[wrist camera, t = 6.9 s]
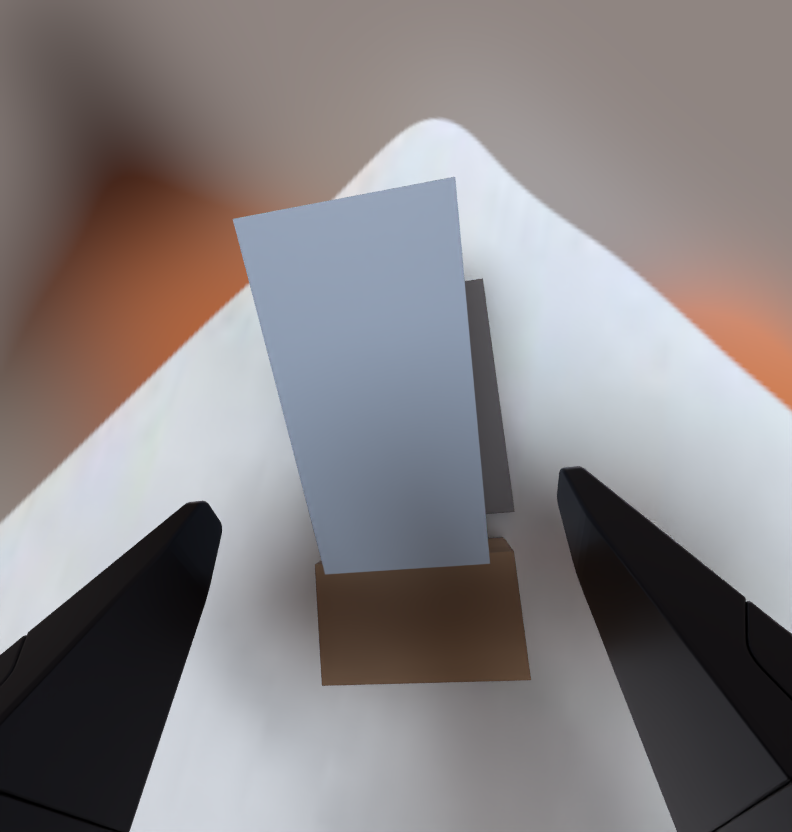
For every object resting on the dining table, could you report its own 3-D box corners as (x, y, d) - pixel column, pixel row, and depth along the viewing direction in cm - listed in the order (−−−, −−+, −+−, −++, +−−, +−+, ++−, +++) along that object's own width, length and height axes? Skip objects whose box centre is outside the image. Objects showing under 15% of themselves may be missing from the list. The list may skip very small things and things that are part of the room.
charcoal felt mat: (512, 510, 16) (514, 511, 16) (326, 525, 18) (321, 527, 17) (481, 284, 18) (482, 278, 17) (312, 310, 19) (308, 305, 19)
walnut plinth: (516, 641, 16) (531, 680, 13) (345, 648, 17) (321, 685, 14) (503, 537, 16) (513, 551, 13) (338, 549, 17) (314, 564, 14)
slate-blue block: (489, 563, 12) (455, 176, 8) (325, 574, 12) (232, 219, 9) (473, 479, 16) (446, 210, 13) (354, 490, 17) (300, 236, 14)
